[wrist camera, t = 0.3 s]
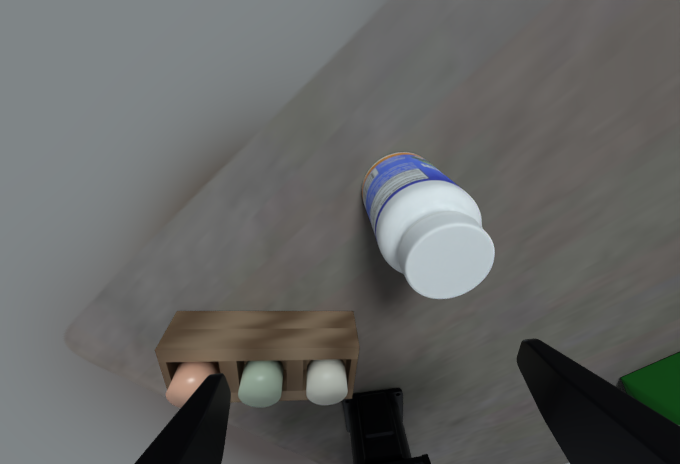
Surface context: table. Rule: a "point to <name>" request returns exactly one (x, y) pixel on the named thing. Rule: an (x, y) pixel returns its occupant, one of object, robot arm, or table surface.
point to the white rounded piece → (326, 381)
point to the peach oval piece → (188, 380)
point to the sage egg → (261, 383)
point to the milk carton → (658, 387)
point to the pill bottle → (426, 226)
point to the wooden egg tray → (261, 344)
